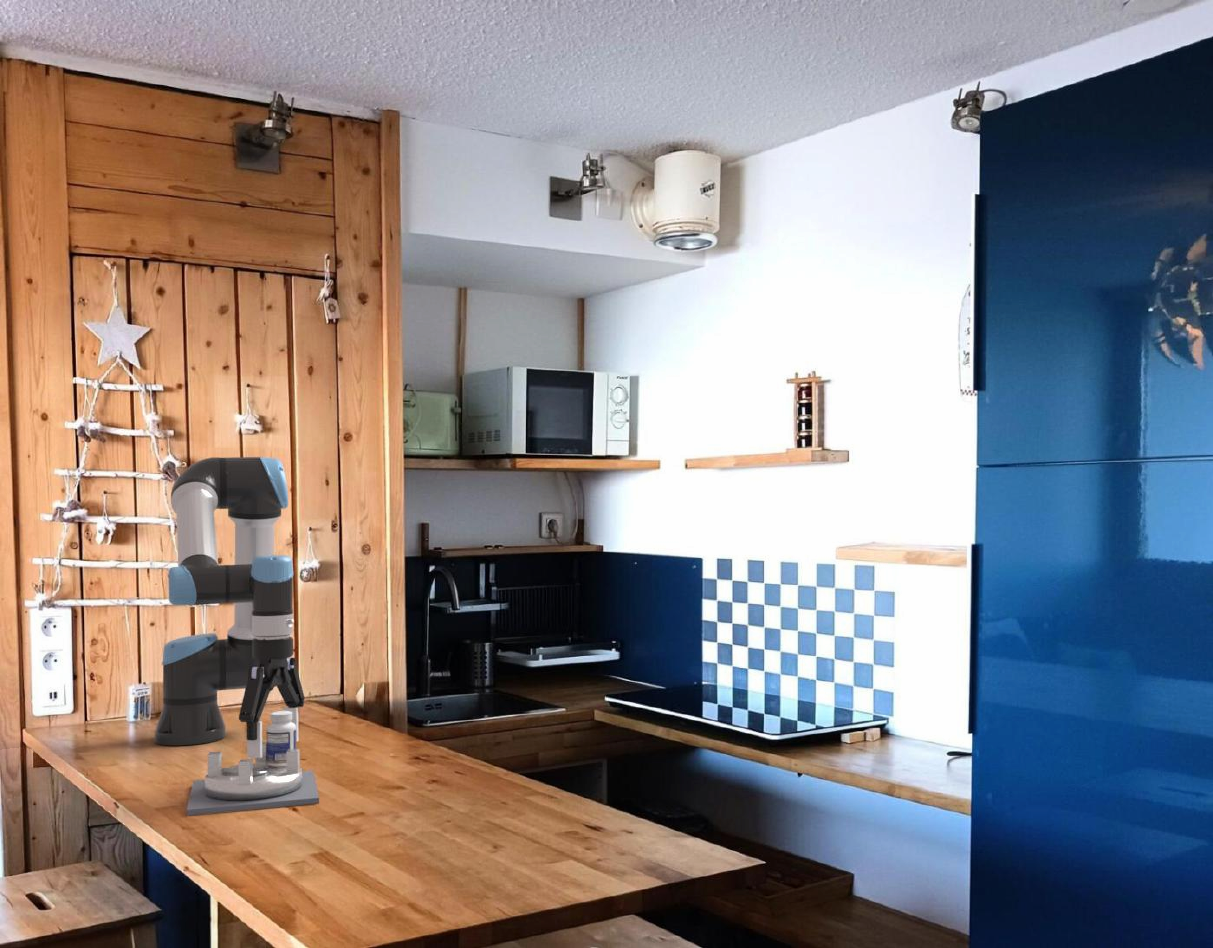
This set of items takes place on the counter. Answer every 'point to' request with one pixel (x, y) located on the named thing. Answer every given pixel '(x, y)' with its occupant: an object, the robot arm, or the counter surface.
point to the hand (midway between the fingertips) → (273, 749)
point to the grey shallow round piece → (252, 777)
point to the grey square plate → (208, 805)
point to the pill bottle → (280, 738)
